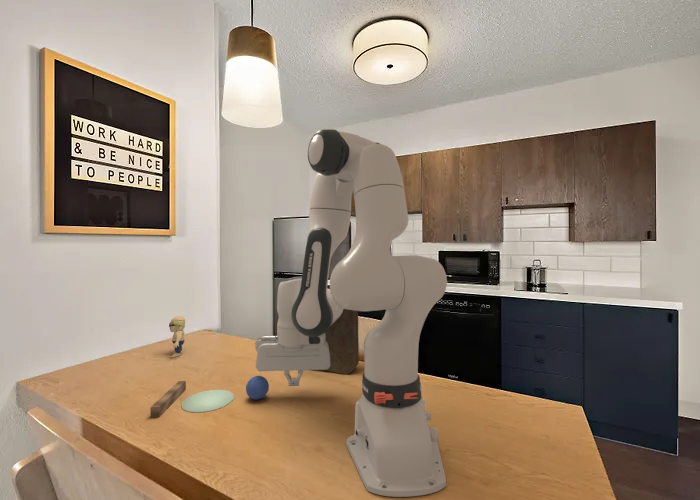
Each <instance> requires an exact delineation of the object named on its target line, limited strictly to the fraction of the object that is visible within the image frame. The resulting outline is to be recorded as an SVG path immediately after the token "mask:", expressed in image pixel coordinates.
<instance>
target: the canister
mask: <svg viewBox="0 0 700 500" xmlns="http://www.w3.org/2000/svg"><path fill="white" fill-rule="evenodd" d="M325 335H326V339H325V341H326V342H327V343H328V346H329V352H330V367H329V368H328V369H327V370H319V371H320V372H321V371H324V372H330V373H335V374H343V375H347V374H348V375H349V374H351V373H352V372H353V371H354V370H355V369H356V368H357V367H358V365H359V362H360V361H359V360H360V356H359V355H360V353H359V352H360V351H359V350H360V349H359V346H360V345H359V311H354V310H347V309H344V310H343V313H342V315H341V316H340V317H339V318H338V319H337V320H336V321H335V322H334V323H333V324H332V325H331V326H330V327H329V328H328V330H327V331H326V332H325Z"/></svg>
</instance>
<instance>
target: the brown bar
mask: <svg viewBox="0 0 700 500" xmlns="http://www.w3.org/2000/svg"><path fill="white" fill-rule="evenodd" d="M186 381H187V380H181V381H180V380H179V381H177V382H176V383H175V384H174V385H173V386H172V387H171V388H169V389H168V391H165V393H164V394H163V395H162V396H161V397H159V399H158V400H156V401H155V402H154V403H153V404H152V405H151V406H150V407H149V408H150V409H149V410H150V418H160V417H161V416H162V415H163V414H164V413H165V412H166V411H167V410H168V409H169V407H170V406H171V405H172V404H173V403H174V402H175V401H176V400H177V399H179V397H180V396H182V394H183V393H184V392H185V391H186V390H187V382H186Z"/></svg>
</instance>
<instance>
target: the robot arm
mask: <svg viewBox="0 0 700 500" xmlns="http://www.w3.org/2000/svg"><path fill="white" fill-rule="evenodd" d="M307 160H308V163H309V166H310V168H311V169H312V170H313V172H314V171H315V172H316V175H315V176H314V180H313V184H312V189H311V194H310V200H309V211H308V212H309V213H308V228H307V229H308V230H307V231H308V232H307V237H306V246H305V252H304V259H303V265H302V266H303V267H302V273H301V275H300V276H294V277H290V278H289V277H288V278H285V279H283V280H281V281H280V283H279V284H278V289H277V296H276V311H277V314H278V315H277V316H278V320H277V322H276V323H277V324H276V333H277V334H276V335H268V336H266V335H262V336H260V337H258V338H257V339H255V350H256V357H255V369H256V370H257V371H258V372H282V371H283V375H284V376H285V378H286V380H287V382H288V383H287V384H288V385H287V386H288V387H300V380H301V378H302V377H303V375H304V371H320V370H327V369H328V368H329V367H330V352H329V346H328V343H327V342H326V341H325V339H326V335H325V332H326V331H327V330H328V328H329V327H330V326H331V325H332V324H333V323H334V322H335V321H336V320H337V319H338V318H339V317H340V316H341V315H342V313H343V310H344V309H347V310H354V311H358V312H373V311H383V310H385V312H384V316H383V317H382V319H381V321H379V323H378V324H377V325H376V326H374V327H373V328H372V329H370V330H369V331H368V332H367V334H366V336H365V339H364V342H363V349H364V350H363V351H364V352H363V355H364V357H363V358H364V359H363V360H364V361H363V364H364V367H363V368H364V369H363V370H364V371H363V373H362V377H361V378H362V379H361V387H362V389H361V391H362V395H361V397H360V398H359V399H358V400H357V401H356V402H355V404H354V405H355V406H354V407H355V409H354V410H355V411H354V434H352V435H350V436H348V437H347V438H346V442H345V446H346V448H347V450H348V452H349V454H350V456H351V458H352V460H353V463H354V465H355V468H356V469H357V471H358V474H359V476H360V478H361V480H362V482H363V485H364V487H365V489H366V490H367V491H368V492H370V493H372V494H376V495H380V496H384V497H385V496H386V497H394V498H395V497H396V498H397V497H398V498H402V497H403V498H404V497H405V498H407V497H408V498H409V497H418V496H419V497H420V496H424V495H430V494H434V493H436V492H439V491H441V490H443V489H444V488H445V487H446V486H447V480H446V479H447V478H446V473H445V469H444V465H443V461H442V458H441V453H440V449H439V444H438V442H439V429H438V428H436V427H431V426H430V427H429V421H431V420H432V414H431V412H427V411H426V401H425V399H424V398H423V396H422V383H421V377H420V375H419V370H418V369H419V343H420V336H421V334H422V330H423V327H424V324H425V321H426V319H427V317H428V315H429V314H430V311H431V310H432V308H433V307H434V305H436V303H437V302H439V301H440V300H441V299H442V298H443V297H444V295H445V292H446V289H447V285H448V284H447V283H448V279H447V274H446V271H445V269H444V266H443V265H442V264H441V262H439V261H438V260H437V259H435V258H431V257H425V256H422V255H417V254H416V255H413V254H412V255H411V254H410V255H391V244H392V241H394V240H395V239H396V238H398V237H399V236H401V235H402V234H403V233H404V232H405V231H406V229H407V227H408V225H409V213H408V207H407V199H406V192H405V186H404V185H405V184H404V180H403V176H402V172H401V167H400V165H399V162H398V159H397V156H396V154H395V152H394V150H393V149H392V148H391V147H390V146H388V145H385V144H382V143H380V142H374V141H372V140H370V139H369V138H368V139H367V138H365V137H362V136H360V135H357V134H354V133H351V132H350V133H349V132H344V131H338V130H336V129H333V128H332V129H331V128H323V129H319V130H318V131H317V132H315V133H314V134H313V136H312V137H311V139H310V141H309V143H308V148H307ZM352 197H353V199H354V208H355V209H354V210H355V235H354V240H353V242H352V244H351V247H350V249H349V251H348V252H347V253H346V255H345V256H344V257H343V258H341V260H340V261H339V262H337V264H335V266H334V268H332V271H331V273H330V267H331V261H332V258H333V255H334V253H335V251H336V250H337V248H338V246H340V244H341V243H342V242H344V240H345V239H346V237H347V236H348V232H349V228H350V225H351V219H352V218H351V217H352V215H351V214H352ZM329 275H330V277H329ZM328 283H329V288H328ZM291 371H297V374H298V375H297V376H296V377H292V376H291V374H290V373H291Z"/></svg>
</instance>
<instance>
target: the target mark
mask: <svg viewBox="0 0 700 500" xmlns="http://www.w3.org/2000/svg"><path fill="white" fill-rule="evenodd" d="M234 397H235V394H234V393H233V392H232V391H231V390H227V389H226V390H225V389H210V390H205V391H200V392H197V393H194V394H192V395H189V396H188V397H186V398H185V399H184V400H183V401H182V402H181V406H180V407H181V408H182V410H184V411H186V412H189V413H207V412H211V411H216V410H219V409H222V408H224V407H226V406H228V405H229V404H230V403H232V402H233V401H234V400H235V399H234Z"/></svg>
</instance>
